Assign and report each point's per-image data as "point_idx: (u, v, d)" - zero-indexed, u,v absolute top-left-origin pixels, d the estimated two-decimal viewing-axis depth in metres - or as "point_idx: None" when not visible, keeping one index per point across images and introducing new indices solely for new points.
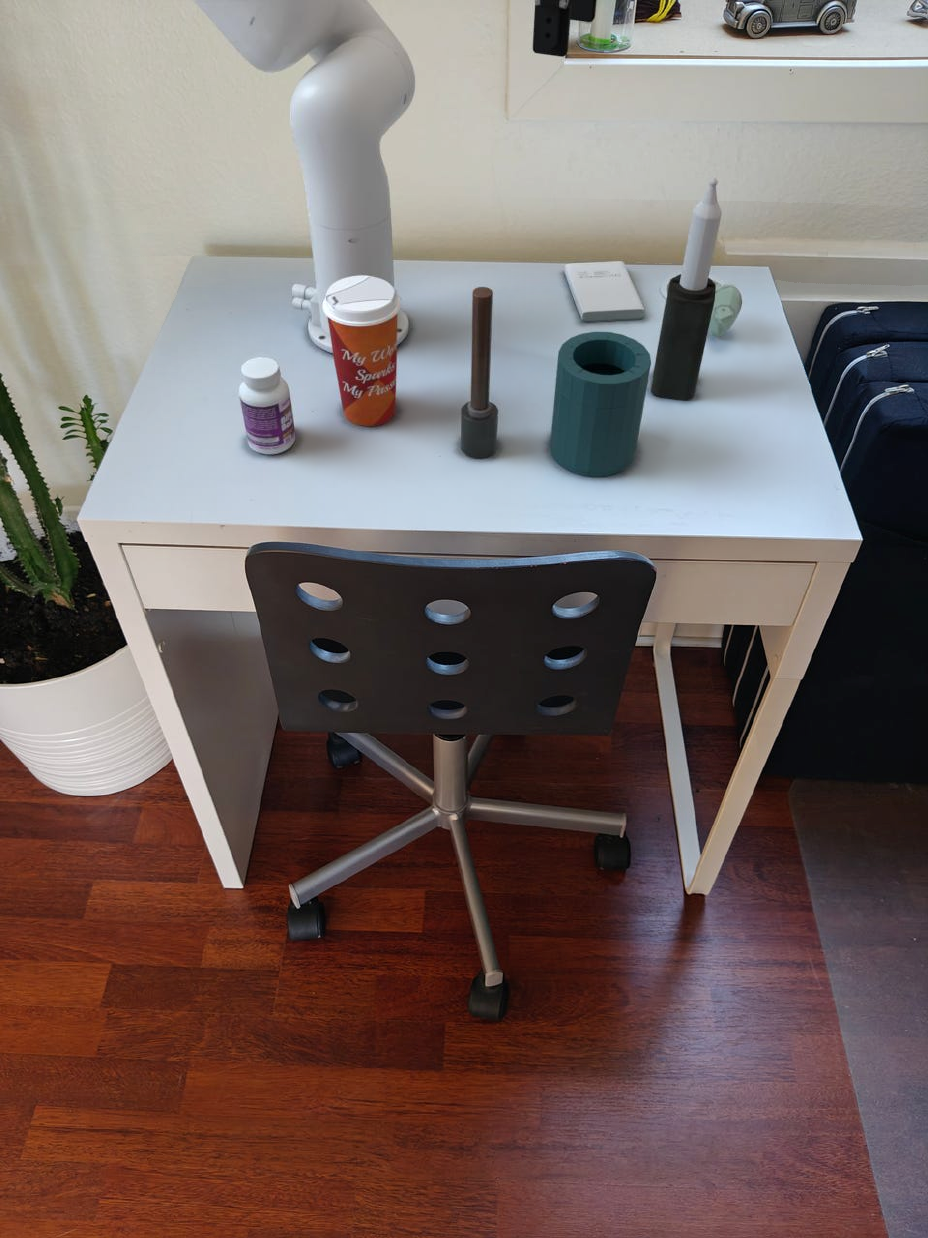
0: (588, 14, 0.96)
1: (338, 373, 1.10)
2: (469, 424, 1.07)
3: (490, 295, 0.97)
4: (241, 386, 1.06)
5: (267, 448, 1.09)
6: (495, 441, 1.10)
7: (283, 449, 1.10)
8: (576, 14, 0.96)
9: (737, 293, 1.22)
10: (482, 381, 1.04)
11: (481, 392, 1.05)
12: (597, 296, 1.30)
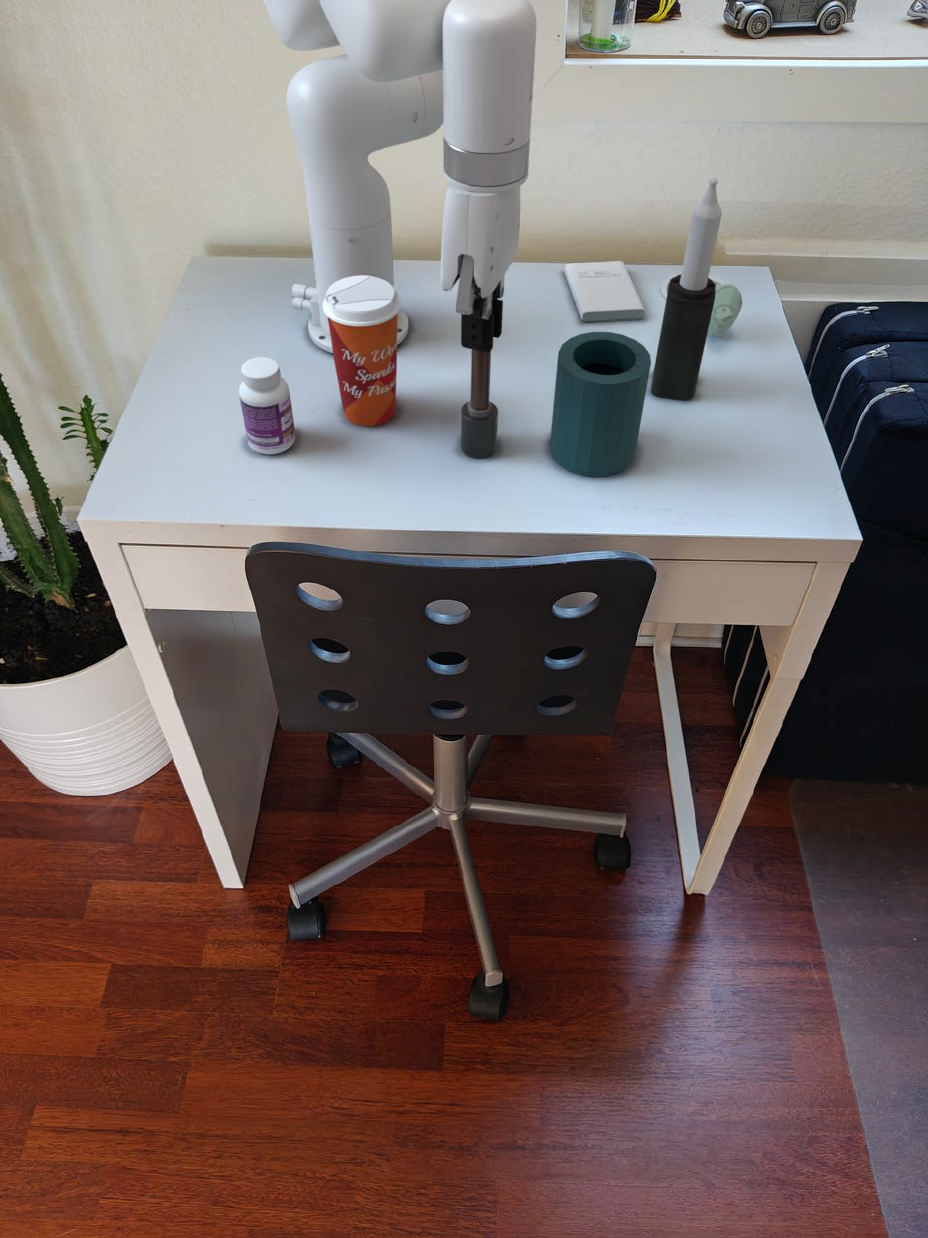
0: (495, 332, 1.01)
1: (338, 373, 1.10)
2: (469, 424, 1.07)
3: None
4: (241, 386, 1.06)
5: (267, 448, 1.09)
6: (495, 441, 1.10)
7: (283, 449, 1.10)
8: None
9: (737, 293, 1.22)
10: (482, 381, 1.04)
11: (481, 392, 1.05)
12: (597, 296, 1.30)
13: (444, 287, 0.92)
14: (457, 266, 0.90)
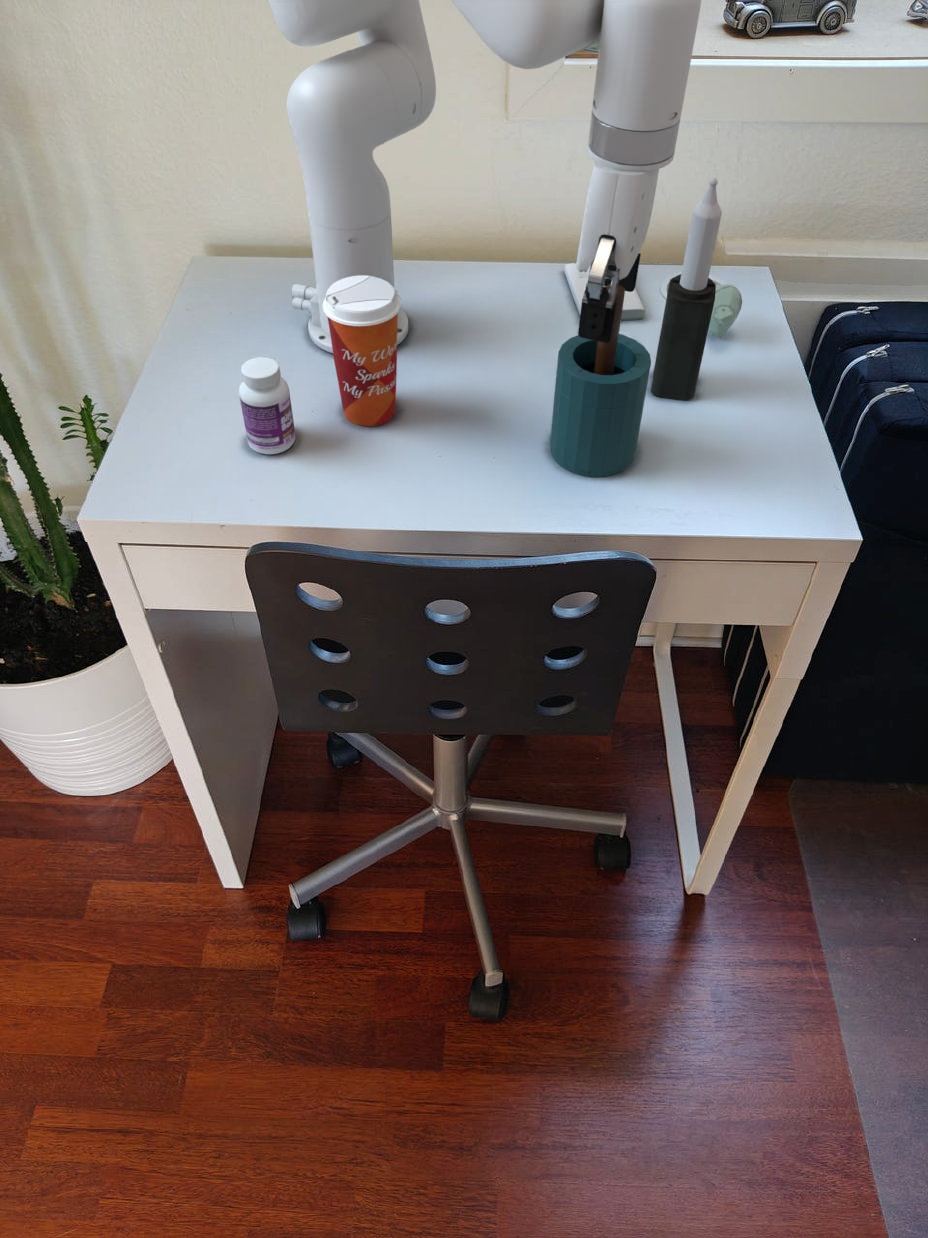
0: (629, 286, 1.01)
1: (338, 373, 1.10)
2: None
3: (623, 292, 0.96)
4: (241, 386, 1.06)
5: (267, 448, 1.09)
6: None
7: (283, 449, 1.10)
8: (617, 285, 1.01)
9: (737, 293, 1.22)
10: None
11: None
12: None
13: (580, 268, 0.91)
14: (597, 246, 0.89)
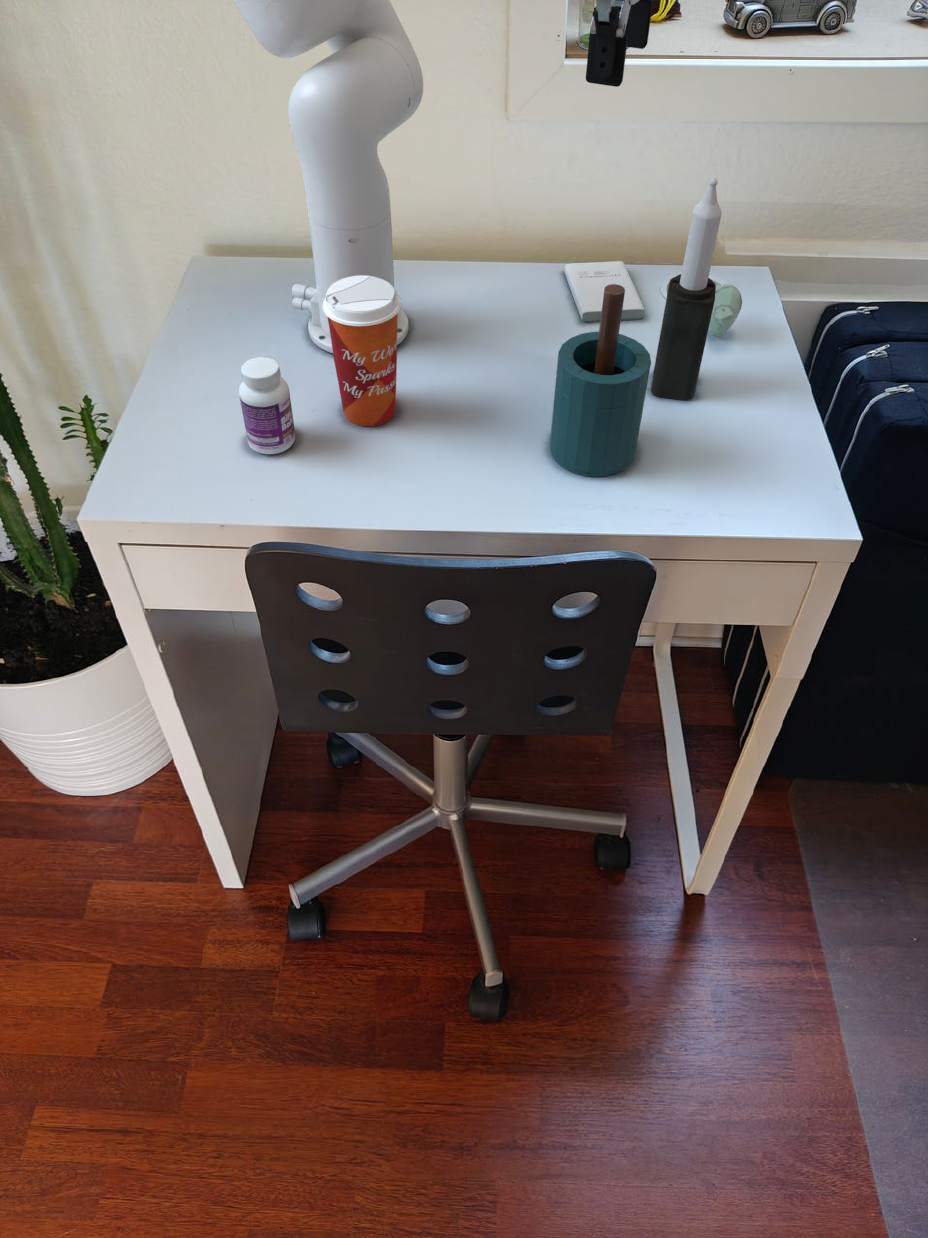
0: (641, 41, 0.93)
1: (338, 373, 1.10)
2: None
3: (623, 292, 0.96)
4: (241, 386, 1.06)
5: (267, 448, 1.09)
6: None
7: (283, 449, 1.10)
8: (628, 40, 0.93)
9: (737, 293, 1.22)
10: None
11: None
12: (597, 296, 1.30)
13: None
14: None
